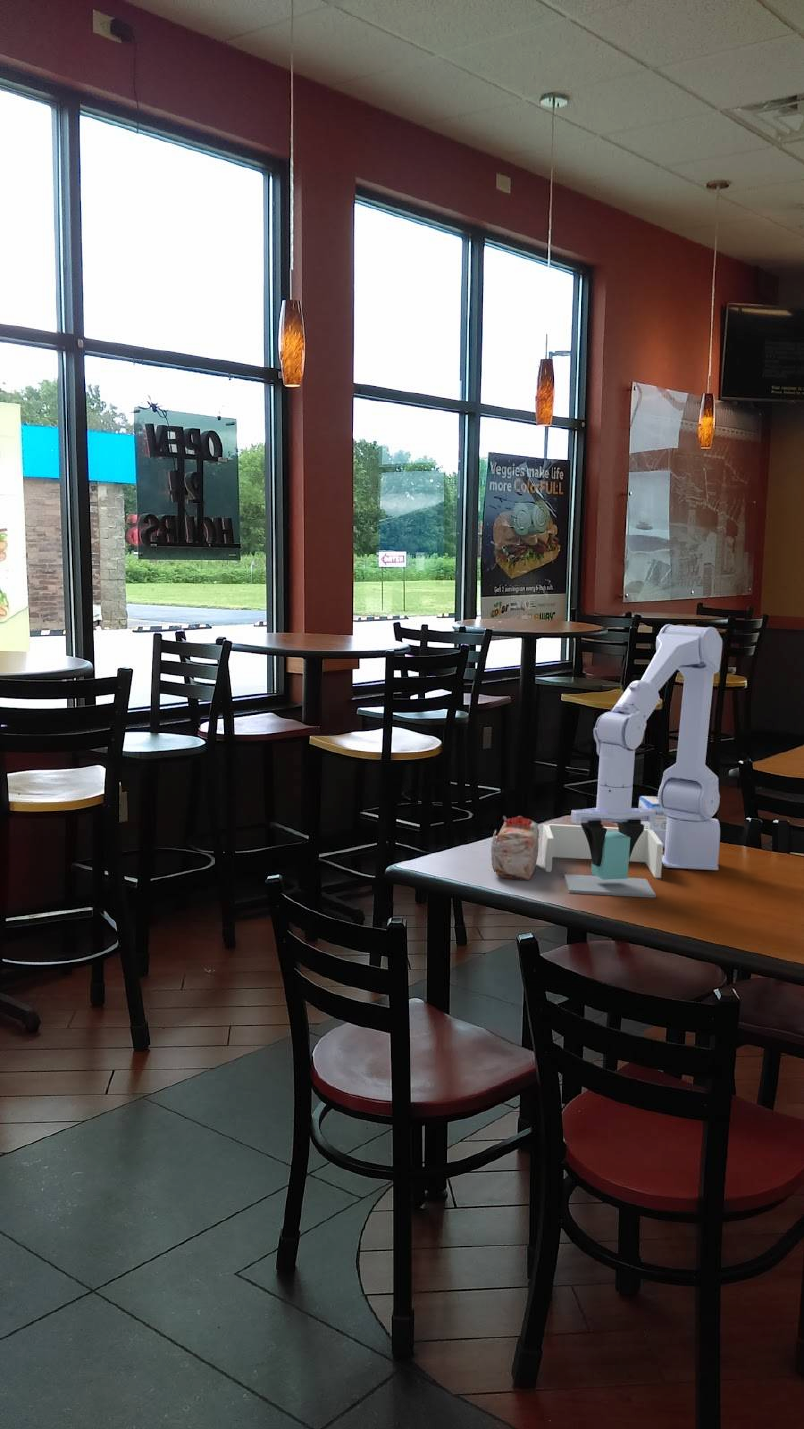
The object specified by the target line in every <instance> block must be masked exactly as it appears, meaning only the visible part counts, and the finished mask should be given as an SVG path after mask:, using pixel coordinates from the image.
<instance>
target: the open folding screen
mask: <svg viewBox="0 0 804 1429" xmlns="http://www.w3.org/2000/svg"><path fill="white" fill-rule="evenodd" d="M603 827H604V828H606V829H607V832H616V831H618V832H619V829H618V827H612V826H603ZM541 843H542V844H541V858H542V862H543V866H544V869H545V872H546V873H547V872H548V873H552V867H553V858H561V859H563V858H565V859H582V860H592V858H591V852H590V848H589V844H588V841H587V838H586V835H585V833H584V831H583V828H582V826H581V825H580V824H575V825H574V824H560V823H559V824H555V823H543V824H542V840H541ZM663 849H664V847H663V844H662V842H661V841H660V839H659V838H658V837H657V835H656V834H655V833H654V831H653V830H652V829H644V831H643V832H642V834H641V835H640V837H639V838H638V840H637V842H636V844H635V846H634V848H633V850H632V853H631V856H630V859H629V862H637V863H645V864H646V866H647V867H648V869H649V871H650V872H651V873H652V875H653V877H654V878H655V879H661V878H662V868H663V866H662V865H663V863H662V855H664V854H663V852H664V851H663Z"/></svg>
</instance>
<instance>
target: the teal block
mask: <svg viewBox="0 0 804 1429" xmlns="http://www.w3.org/2000/svg"><path fill="white" fill-rule="evenodd" d="M629 849H630V837H628V836H626V835H624V834H622V833H620V832H618V831H616V832H606V835H605V839H604V844H603V853H602V861H601V866H596V865H594V864H592V863H591V866H590V867H591V869H590V873H591V874H592V875H593V876H598V877H599V878H601V879H603V880H607V879H628V878H629V862H630V861H629Z"/></svg>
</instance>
